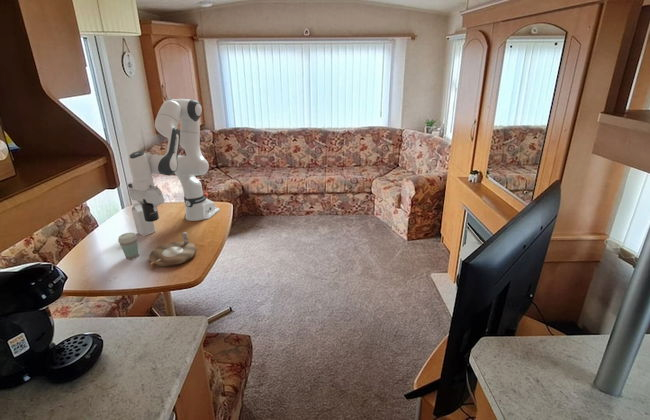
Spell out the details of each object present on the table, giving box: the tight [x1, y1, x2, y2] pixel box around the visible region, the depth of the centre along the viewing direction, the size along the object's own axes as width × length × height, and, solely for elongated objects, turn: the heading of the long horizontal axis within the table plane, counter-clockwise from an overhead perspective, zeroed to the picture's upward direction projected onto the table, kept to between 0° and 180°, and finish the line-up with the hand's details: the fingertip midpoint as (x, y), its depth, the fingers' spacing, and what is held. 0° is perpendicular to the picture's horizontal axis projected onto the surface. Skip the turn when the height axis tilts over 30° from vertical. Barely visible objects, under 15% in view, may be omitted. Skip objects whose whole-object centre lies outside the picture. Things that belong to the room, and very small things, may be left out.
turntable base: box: [149, 261, 187, 271], centre depth 182 cm, size 22×18×4 cm
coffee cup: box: [117, 232, 140, 260], centre depth 183 cm, size 8×8×12 cm
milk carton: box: [131, 201, 156, 237], centre depth 207 cm, size 7×7×19 cm
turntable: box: [148, 231, 197, 267], centre depth 182 cm, size 22×22×8 cm
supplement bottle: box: [142, 199, 160, 222], centre depth 187 cm, size 7×7×12 cm
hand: (149, 209), depth 187 cm, fingers closed on supplement bottle, 6 cm apart
